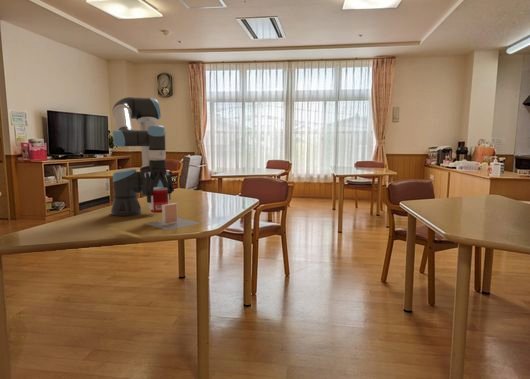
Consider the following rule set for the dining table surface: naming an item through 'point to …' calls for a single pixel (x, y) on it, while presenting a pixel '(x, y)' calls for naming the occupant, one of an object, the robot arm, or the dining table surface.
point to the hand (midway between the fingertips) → (159, 208)
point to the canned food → (159, 198)
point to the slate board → (179, 224)
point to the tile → (169, 213)
